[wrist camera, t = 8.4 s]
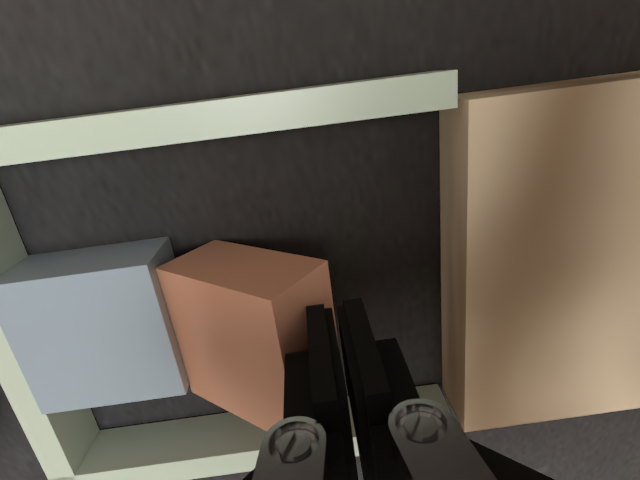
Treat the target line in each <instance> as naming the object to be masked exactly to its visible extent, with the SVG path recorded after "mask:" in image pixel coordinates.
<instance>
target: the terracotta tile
mask: <svg viewBox="0 0 640 480" xmlns="http://www.w3.org/2000/svg"><path fill="white" fill-rule="evenodd" d="M155 269H156V272H157V276H158V279H159V282H160V286H161V289H162V292H163V296H164V299H165V303H166V306H167V309H168V313H169V316H170V319H171V323H172V326H173V330H174V333H175V336H176V340H177V343H178V346H179V350H180V353H181V357H182V360H183V363H184V367H185V370H186V373H187V377H188V380H189V384H190V387H191V390H192V392H193V393H195V394H197V395H198V396H200V397H202V398H204V399H206V400H208V401H210V402H212V403H214V404H215V405H217V406H219V407H221V408H223V409H225V410H227V411H229V412H231V413H233V414H234V415H236V416H238V417H240V418H242V419H244V420H246V421H248V422H250V423H251V424H253V425H255V426H257V427H259V428H261V429H263V430H265V431H268V430H269V429H270V428H271V427H272V426H273V425H274V424H276V423H277V422H279V421H281V420H283V410H284V367H285V354H288V353H295V352H301V351H308V350H309V346H308V331H307V315H306V306H311V305H318V304H324V308H331V307H332V312H333V318H334V323H335V329H336V322H335V314H334V306H333V298H332V291H331V283H330V275H329V268H328V260H323V259H318V258H312V257H307V256H301V255H296V254H290V253H285V252H280V251H274V250H269V249H263V248H258V247H252V246H247V245H241V244H236V243H230V242H225V241H220V240H213V241H211V242H209V243H207V244H205V245H203V246H200V247H198V248H196V249H194V250H192V251H190V252H188V253H186V254H184V255H182V256H180V257H178V258H176V259H173V260H171V261H169V262H167V263H165V264H163V265H161V266H159V267H157V268H155ZM336 335H337V329H336ZM337 340H338V337H337ZM338 346H339V345H338Z"/></svg>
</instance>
